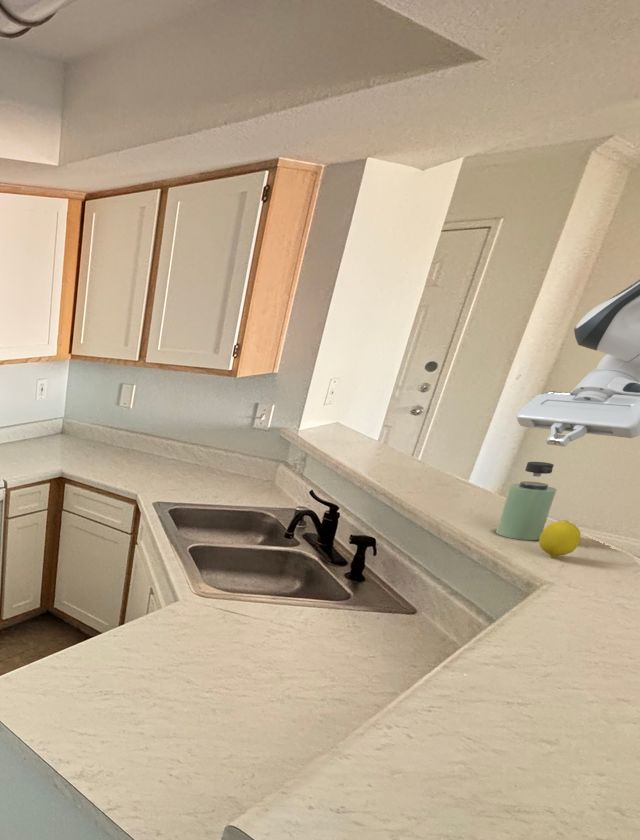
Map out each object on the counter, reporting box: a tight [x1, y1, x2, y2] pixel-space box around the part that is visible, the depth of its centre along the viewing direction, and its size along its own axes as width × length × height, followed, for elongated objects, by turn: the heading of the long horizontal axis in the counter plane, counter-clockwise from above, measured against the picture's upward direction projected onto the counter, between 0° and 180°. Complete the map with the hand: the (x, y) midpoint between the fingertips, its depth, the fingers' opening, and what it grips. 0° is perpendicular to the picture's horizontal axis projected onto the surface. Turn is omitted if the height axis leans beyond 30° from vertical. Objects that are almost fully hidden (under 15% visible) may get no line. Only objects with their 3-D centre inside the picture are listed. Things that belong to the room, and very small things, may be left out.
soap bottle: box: [495, 480, 557, 541], centre depth 130 cm, size 7×7×12 cm
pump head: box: [524, 461, 554, 478], centre depth 126 cm, size 4×7×3 cm, turn 153°
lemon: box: [538, 519, 581, 559], centre depth 118 cm, size 6×6×8 cm
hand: (555, 443), depth 126 cm, fingers closed
